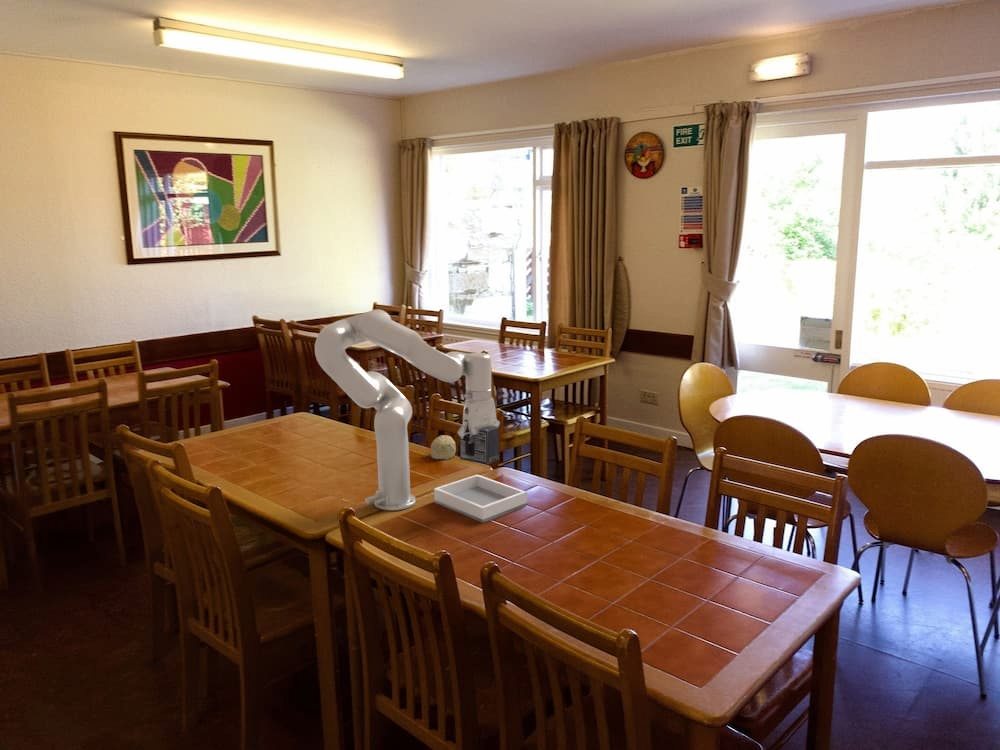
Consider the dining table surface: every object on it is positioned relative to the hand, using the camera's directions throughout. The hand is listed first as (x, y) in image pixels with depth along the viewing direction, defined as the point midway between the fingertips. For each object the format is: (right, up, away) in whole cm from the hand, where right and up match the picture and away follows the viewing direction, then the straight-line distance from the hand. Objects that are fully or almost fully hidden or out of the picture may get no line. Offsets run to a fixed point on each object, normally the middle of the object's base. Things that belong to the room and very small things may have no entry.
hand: (479, 452), depth 215 cm
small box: (0, -3, 0) cm, 3 cm away
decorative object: (-15, -7, +49) cm, 52 cm away
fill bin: (0, -16, +3) cm, 17 cm away
